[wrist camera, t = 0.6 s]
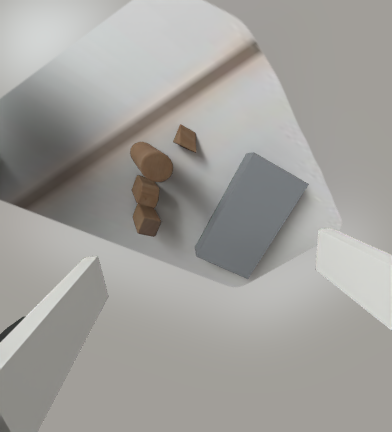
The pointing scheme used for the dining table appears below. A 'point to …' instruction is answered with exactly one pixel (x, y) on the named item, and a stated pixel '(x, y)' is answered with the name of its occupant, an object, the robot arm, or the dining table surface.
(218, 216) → the grey rectangular slab
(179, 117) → the dining table surface
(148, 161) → the wooden block set
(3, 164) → the dining table surface
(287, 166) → the dining table surface
